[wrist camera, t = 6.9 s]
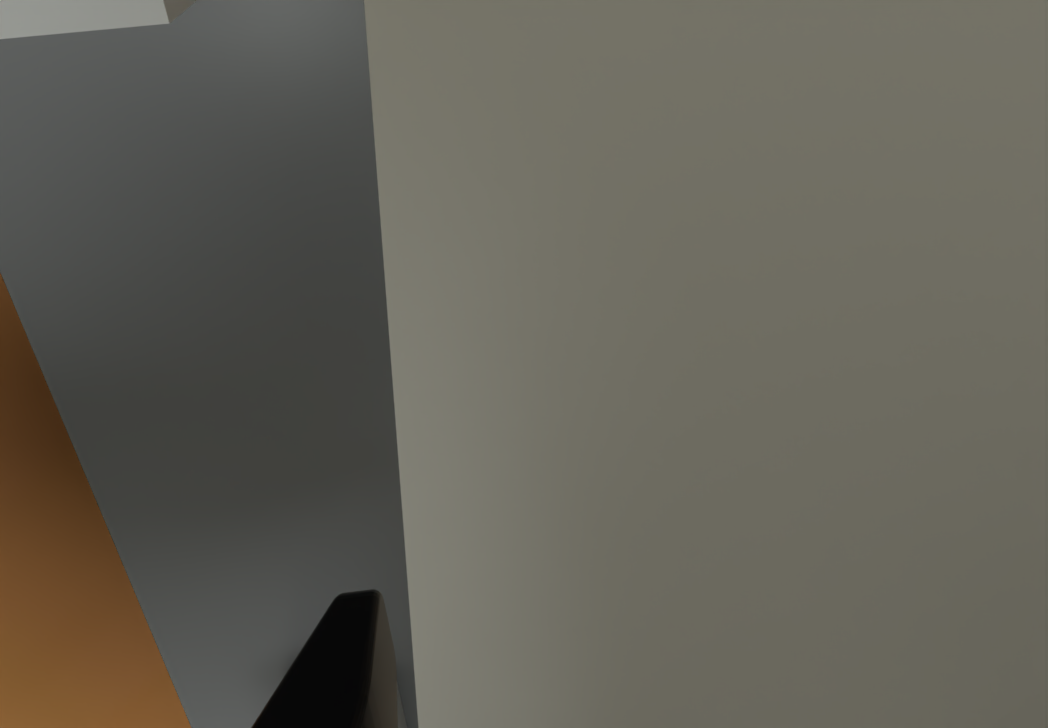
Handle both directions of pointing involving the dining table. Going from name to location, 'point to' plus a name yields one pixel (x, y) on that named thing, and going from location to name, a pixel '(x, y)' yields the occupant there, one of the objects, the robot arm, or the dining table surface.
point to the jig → (212, 315)
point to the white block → (719, 358)
